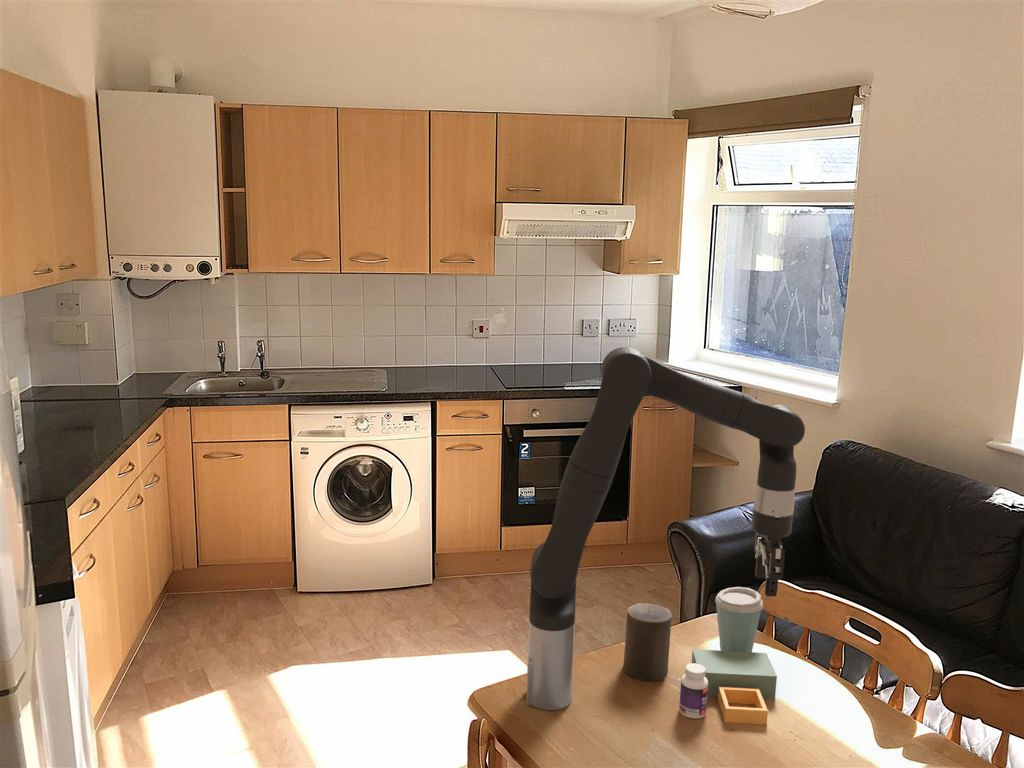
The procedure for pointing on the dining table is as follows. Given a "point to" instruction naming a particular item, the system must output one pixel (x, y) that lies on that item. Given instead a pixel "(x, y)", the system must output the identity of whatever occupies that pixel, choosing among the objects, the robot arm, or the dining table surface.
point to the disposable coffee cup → (738, 618)
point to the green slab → (739, 682)
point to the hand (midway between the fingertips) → (765, 586)
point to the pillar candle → (647, 642)
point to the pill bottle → (693, 691)
